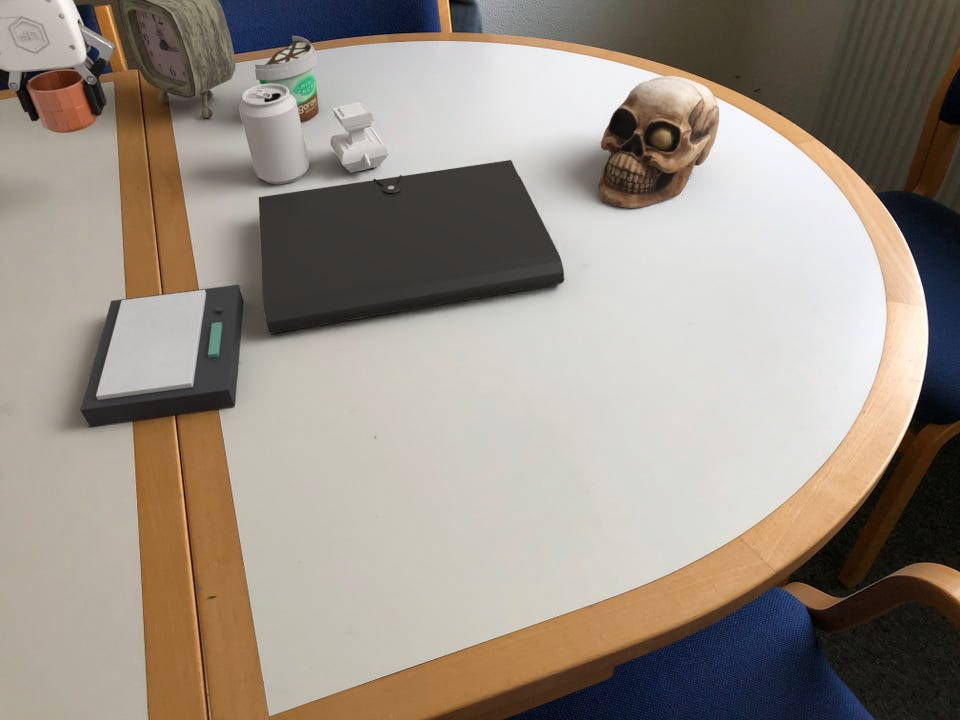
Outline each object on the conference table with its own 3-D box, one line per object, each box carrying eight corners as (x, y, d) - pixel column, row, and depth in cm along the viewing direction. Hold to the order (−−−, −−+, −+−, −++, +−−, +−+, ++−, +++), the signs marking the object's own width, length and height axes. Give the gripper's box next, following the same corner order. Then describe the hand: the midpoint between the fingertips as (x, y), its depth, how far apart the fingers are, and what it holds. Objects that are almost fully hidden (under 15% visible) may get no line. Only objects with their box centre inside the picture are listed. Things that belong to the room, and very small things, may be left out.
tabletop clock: (149, 104, 130) (93, -63, 113) (192, 84, 135) (145, -79, 118) (208, 125, 124) (158, -48, 107) (251, 103, 129) (210, -66, 112)
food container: (303, 134, 120) (290, 70, 113) (268, 129, 122) (253, 66, 115) (339, 99, 129) (329, 37, 122) (305, 95, 130) (293, 34, 123)
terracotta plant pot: (37, 137, 98) (19, 94, 95) (50, 113, 103) (33, 71, 100) (94, 132, 99) (79, 89, 95) (104, 108, 104) (90, 67, 100)
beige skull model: (599, 207, 102) (610, 104, 94) (593, 154, 116) (602, 61, 108) (722, 212, 101) (744, 109, 93) (701, 158, 115) (719, 64, 107)
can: (293, 190, 108) (274, 107, 100) (246, 182, 110) (224, 100, 102) (319, 164, 113) (304, 83, 105) (274, 157, 116) (255, 77, 107)
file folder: (510, 156, 105) (564, 263, 88) (510, 183, 108) (563, 292, 91) (257, 193, 100) (263, 314, 83) (264, 221, 103) (271, 342, 86)
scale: (89, 427, 77) (77, 405, 75) (118, 317, 90) (108, 296, 88) (235, 407, 79) (227, 385, 77) (244, 301, 91) (237, 280, 89)
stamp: (393, 173, 111) (386, 117, 105) (347, 184, 109) (338, 128, 103) (374, 145, 117) (366, 90, 111) (330, 155, 115) (320, 100, 109)
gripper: (-85, -22, 85) (-12, 133, 97) (84, -33, 87) (135, 120, 99) (-62, -42, 90) (5, 107, 102) (97, -53, 92) (144, 95, 104)
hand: (68, 112), depth 100 cm, fingers closed on terracotta plant pot, 6 cm apart
